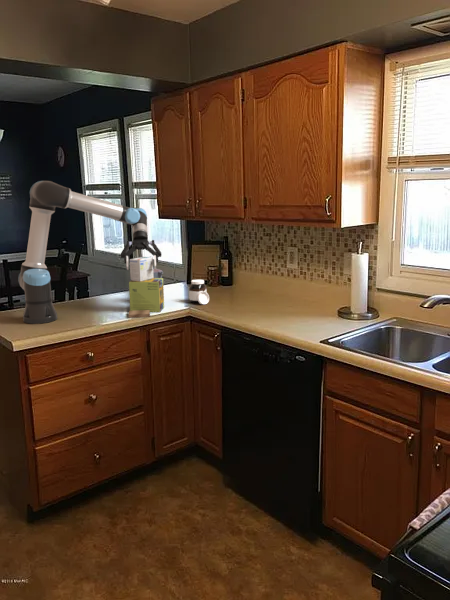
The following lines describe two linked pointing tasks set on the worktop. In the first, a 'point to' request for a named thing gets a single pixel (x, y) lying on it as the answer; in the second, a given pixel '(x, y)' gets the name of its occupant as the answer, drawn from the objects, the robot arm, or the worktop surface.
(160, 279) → the protein box
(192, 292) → the spread jar
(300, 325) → the worktop surface
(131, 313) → the walnut coaster board
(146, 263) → the light bulb box
